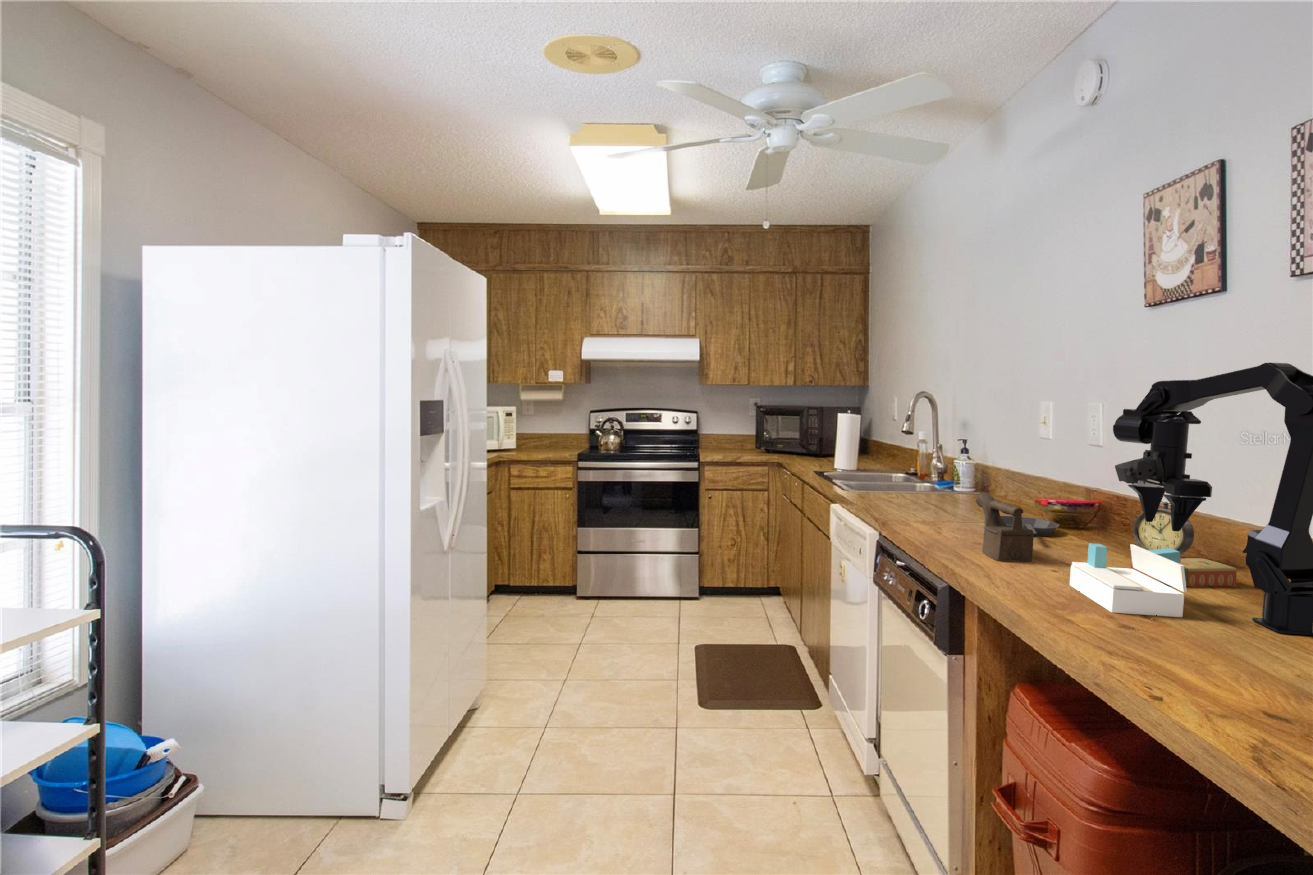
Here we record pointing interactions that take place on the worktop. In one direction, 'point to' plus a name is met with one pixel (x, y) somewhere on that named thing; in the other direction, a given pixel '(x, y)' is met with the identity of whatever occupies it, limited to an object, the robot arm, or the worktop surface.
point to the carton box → (1130, 594)
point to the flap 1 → (1103, 569)
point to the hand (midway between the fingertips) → (1161, 526)
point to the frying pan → (1033, 525)
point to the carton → (1204, 573)
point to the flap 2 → (1160, 565)
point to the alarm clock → (1162, 532)
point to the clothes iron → (1004, 531)
